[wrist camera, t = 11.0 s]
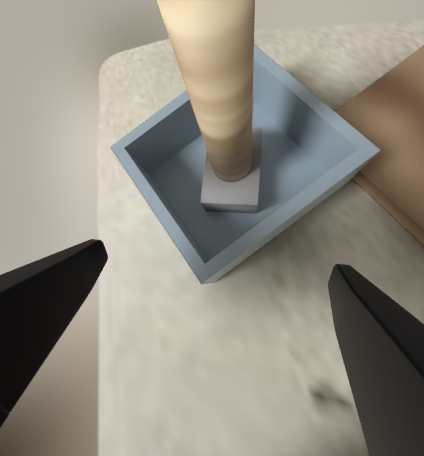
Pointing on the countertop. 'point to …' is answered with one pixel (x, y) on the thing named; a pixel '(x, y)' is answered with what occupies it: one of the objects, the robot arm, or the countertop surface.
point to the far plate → (394, 141)
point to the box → (269, 169)
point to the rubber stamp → (220, 94)
